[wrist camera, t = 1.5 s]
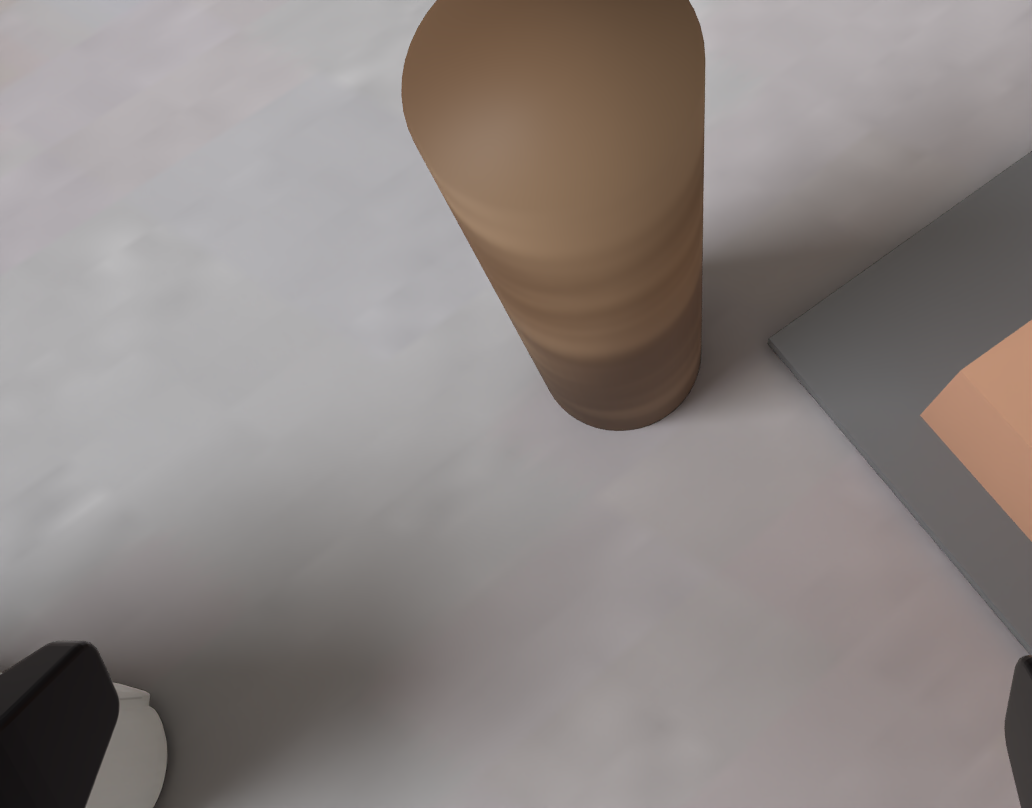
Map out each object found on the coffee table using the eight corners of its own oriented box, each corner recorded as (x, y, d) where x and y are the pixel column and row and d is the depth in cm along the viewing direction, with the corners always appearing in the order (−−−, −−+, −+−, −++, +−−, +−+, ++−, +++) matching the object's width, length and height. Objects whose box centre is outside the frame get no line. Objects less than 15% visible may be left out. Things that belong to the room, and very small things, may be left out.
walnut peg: (734, 367, 23) (771, 82, 12) (601, 462, 23) (508, 269, 12) (637, 249, 24) (586, -112, 13) (511, 339, 24) (348, 57, 13)
